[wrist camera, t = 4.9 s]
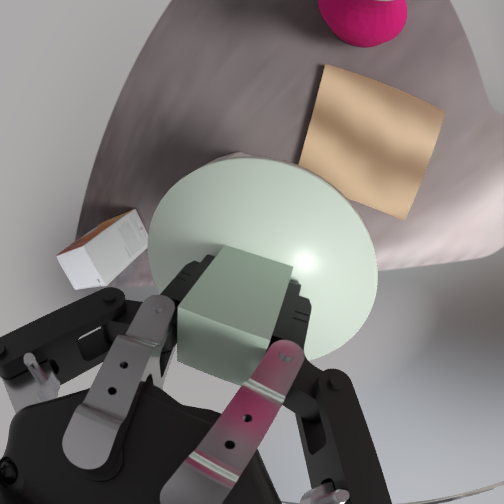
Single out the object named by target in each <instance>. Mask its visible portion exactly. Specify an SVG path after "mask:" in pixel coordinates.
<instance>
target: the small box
mask: <svg viewBox="0 0 504 504" xmlns="http://www.w3.org/2000/svg"><path fill="white" fill-rule="evenodd" d="M147 246H148V233H147V231H146V229H145V227H144V225H143V223H142V221H141V219H140V217H139V215H138V213H137V211H136V209H133V210H130V211H128V212H126V213H123V214H121V215H118V216H116V217H113V218H111V219H108V220H106V221H104V222H102V223H101V224H99V225H98V226H97V227H95V228H94V229H92V230H91V231H89V232H88V233H86V234H85V235H84V236H82V237H81V238H79V239H78V240H77V241H75V242H74V243H72V244H71V245H70V246H68V247H67V248H66V249H64V250H63V251H61V252H60V253H59V254H58V255H56V257H57V259H58V261H59V263H60V265H61V266H62V268H63V270H64V271H65V273H66V275H67V277H68V279H69V280H70V282H71V284H72V285H73V287H74V289H75V290H78V289H84V288H90V287H98V286H107V285H108V284H109V283H110V282H111V281H112V280H113V279H114V278H115V277H116V276H117V275H118V274H119V273H120V272H122V271H123V270H124V269H125V268H126V267H127V266H128V265H129V264H130V263H131V262H132V261H133V260H134V259H136V258H137V257H138V256H139V255H140V254H141V253H142V252H143V251H144V250H145V249H146V248H147Z"/></svg>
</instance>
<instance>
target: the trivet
mask: <svg viewBox="0 0 504 504" xmlns="http://www.w3.org/2000/svg"><path fill="white" fill-rule="evenodd" d="M444 115H445V111H443V110H441V109H439V108H437V107H435V106H433V105H431V104H429V103H427V102H425V101H423V100H421V99H419V98H417V97H414V96H412V95H410V94H408V93H405V92H403V91H401V90H399V89H396V88H394V87H391V86H389V85H386V84H384V83H381V82H379V81H376V80H373V79H371V78H368V77H365V76H362V75H359V74H356V73H353V72H350V71H347V70H344V69H341V68H337V67H334V66H331V65H327V64H325V68H324V72H323V76H322V79H321V83H320V87H319V91H318V95H317V98H316V102H315V106H314V110H313V114H312V117H311V121H310V125H309V128H308V132H307V136H306V139H305V143H304V147H303V150H302V154H301V157H300V161H299V166H302V167H304V168H306V169H308V170H310V171H312V172H314V173H316V174H318V175H319V176H321V177H322V178H324V179H325V180H327V181H328V182H329V183H331V184H332V185H334V186H335V187H336V188H337V189H338V190H339V191H340V192H341V193H342V194H343V195H344V196H345V197H346V198H348V199H351V200H353V201H356V202H359V203H362V204H364V205H367V206H369V207H372V208H375V209H377V210H380V211H382V212H385V213H387V214H390V215H392V216H395V217H397V218H400V219H402V220H405V219H406V216H407V214H408V212H409V210H410V207H411V205H412V203H413V200H414V198H415V196H416V193H417V191H418V189H419V186H420V184H421V181H422V179H423V176H424V174H425V171H426V168H427V166H428V163H429V160H430V158H431V155H432V152H433V149H434V146H435V143H436V141H437V138H438V135H439V132H440V128H441V125H442V122H443V119H444Z"/></svg>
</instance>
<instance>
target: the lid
mask: <svg viewBox="0 0 504 504" xmlns="http://www.w3.org/2000/svg"><path fill="white" fill-rule="evenodd" d="M147 247H148V259H149V264H150V269H151V273H152V276H153V279H154V282H155V284H156V286H157V288H158V290H159V292H160V294H161V293H162V291H163V290H164V289H165V288H166V287H167V286H168V284H169V283H170V282H171V281H172V280H173V279H174V278H175V277H176V275H177V274H178V273H179V272H180V271H181V270H182V268H183V267H184V266H185V265H186V264H188V263H190V262H192V261H197V262H201V261H202V260H203V259H204V257H205V256H206V255H207V254H209V255H212V256H215V258H214V260H213V261H212V262H211V264H210V265H209V266H208V268H207V269H206V270H205V271H204V273H203V274H202V275H201V277H200V278H199V279H198V281H197V282H196V283H195V285H194V286H193V287H192V288H191V290H190V291H189V292H188V294H187V295H186V296H185V298H184V299H183V300H182V302H181V303H180V304H179V306H178V322H177V358H178V359H177V361H178V362H181V363H183V364H185V365H188V366H190V367H193V368H195V369H197V370H200V371H203V372H205V373H208V374H210V375H213V376H215V377H218V378H221V379H223V380H226V381H229V382H232V383H234V384H237V385H240V386H242V385H243V383H244V382H245V381H246V380H247V381H248V380H249V378H250V377H251V375H252V374H253V372H254V371H255V369H256V368H257V366H258V365H259V363H260V362H261V360H262V359H263V357H264V356H265V353H266V350H267V348H268V345H269V342H270V340H271V337H272V334H273V331H274V328H275V325H276V321H277V318H278V315H279V312H280V309H281V306H282V303H283V300H284V296H285V293H286V290H287V287H288V284H289V281H291V282H294V283H297V284H301V289H300V293H299V296H302V297H305V298H309V300H310V303H311V306H312V309H311V315H310V320H309V325H308V330H307V335H306V340H305V345H304V354H305V356H306V358H307V360H308V361H309V360H312V359H315V358H318V357H321V356H323V355H326V354H328V353H330V352H332V351H333V350H335V349H337V348H339V347H340V346H342V345H343V344H344V343H346V342H347V341H348V340H349V339H350V338H352V337H353V336H354V334H355V333H356V332H357V331H358V330H359V329H360V328H361V326H362V325H363V323H364V322H365V321H366V319H367V317H368V315H369V313H370V311H371V309H372V306H373V303H374V299H375V296H376V291H377V282H378V275H377V262H376V257H375V252H374V247H373V243H372V240H371V237H370V234H369V232H368V229H367V227H366V225H365V223H364V221H363V220H362V218H361V216H360V214H359V213H358V211H357V210H356V209H355V208H354V206H353V205H352V204H351V202H350V201H349V200H348V199H347V198H346V197H345V196H344V195H343V194H342V193H341V192H340V191H339V190H338V189H337V188H336V187H335V186H334V185H332V184H331V183H329V182H328V181H327V180H325V179H324V178H322V177H321V176H319V175H318V174H316V173H314V172H312V171H310V170H308V169H306V168H304V167H302V166H299V165H297V164H294V163H291V162H288V161H285V160H281V159H276V158H271V157H263V156H240V157H231V158H227V159H223V160H219V161H215V162H213V163H210V164H208V165H205V166H203V167H201V168H199V169H197V170H195V171H193V172H192V173H190V174H188V175H187V176H185V177H184V178H182V179H181V180H179V181H178V182H177V183H176V184H175V185H174V186H173V187H172V188H170V189H169V191H168V192H167V193H166V194H165V196H164V197H163V198H162V199H161V201H160V203H159V205H158V206H157V208H156V210H155V212H154V215H153V218H152V220H151V223H150V228H149V233H148V246H147Z"/></svg>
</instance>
